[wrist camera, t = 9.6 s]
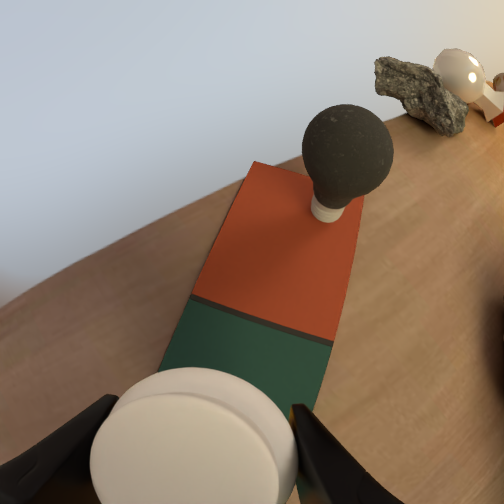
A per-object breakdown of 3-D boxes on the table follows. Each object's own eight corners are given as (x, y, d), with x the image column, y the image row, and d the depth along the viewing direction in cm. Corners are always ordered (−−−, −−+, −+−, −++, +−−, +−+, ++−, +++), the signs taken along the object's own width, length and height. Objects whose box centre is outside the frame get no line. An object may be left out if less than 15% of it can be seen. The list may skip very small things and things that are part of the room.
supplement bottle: (247, 492, 12) (251, 606, 3) (151, 449, 13) (33, 495, 3) (290, 405, 14) (364, 415, 5) (193, 363, 15) (116, 307, 6)
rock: (468, 110, 30) (459, 167, 30) (389, 90, 37) (373, 141, 37) (473, 46, 19) (471, 106, 19) (372, 27, 26) (352, 79, 26)
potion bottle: (439, 34, 31) (501, 86, 31) (416, 77, 38) (479, 124, 38) (457, 37, 24) (526, 99, 25) (430, 87, 31) (499, 143, 32)
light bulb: (303, 254, 21) (339, 154, 12) (278, 194, 24) (293, 88, 15) (368, 237, 22) (425, 145, 13) (339, 182, 25) (374, 86, 16)
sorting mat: (363, 196, 24) (364, 194, 24) (267, 519, 13) (267, 520, 13) (253, 162, 26) (253, 160, 25) (122, 464, 14) (121, 465, 14)
